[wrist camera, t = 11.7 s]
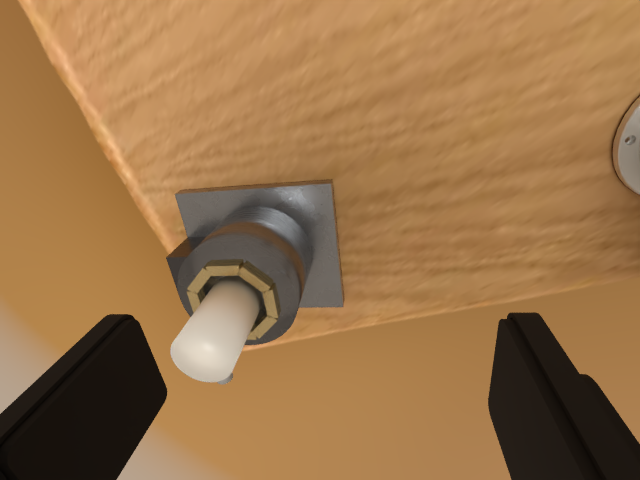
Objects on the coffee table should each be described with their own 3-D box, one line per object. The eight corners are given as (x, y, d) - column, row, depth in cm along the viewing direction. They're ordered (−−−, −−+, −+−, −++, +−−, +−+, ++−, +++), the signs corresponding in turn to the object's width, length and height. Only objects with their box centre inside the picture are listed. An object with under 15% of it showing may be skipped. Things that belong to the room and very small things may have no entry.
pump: (256, 274, 32) (224, 333, 25) (270, 330, 35) (244, 397, 28) (206, 275, 33) (161, 333, 26) (223, 331, 36) (187, 396, 29)
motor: (332, 179, 38) (316, 221, 28) (344, 299, 45) (335, 369, 35) (181, 189, 41) (116, 231, 31) (213, 301, 48) (169, 366, 38)
